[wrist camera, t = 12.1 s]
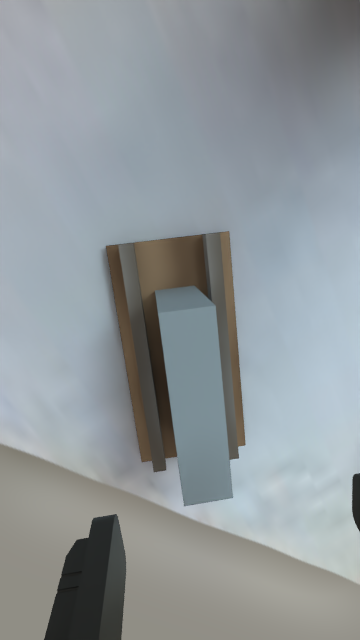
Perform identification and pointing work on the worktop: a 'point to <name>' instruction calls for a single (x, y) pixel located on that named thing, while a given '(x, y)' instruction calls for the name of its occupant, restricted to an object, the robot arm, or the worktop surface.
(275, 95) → the worktop surface
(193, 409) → the door panel
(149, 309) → the door track
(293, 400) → the worktop surface
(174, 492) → the worktop surface
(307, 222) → the worktop surface
